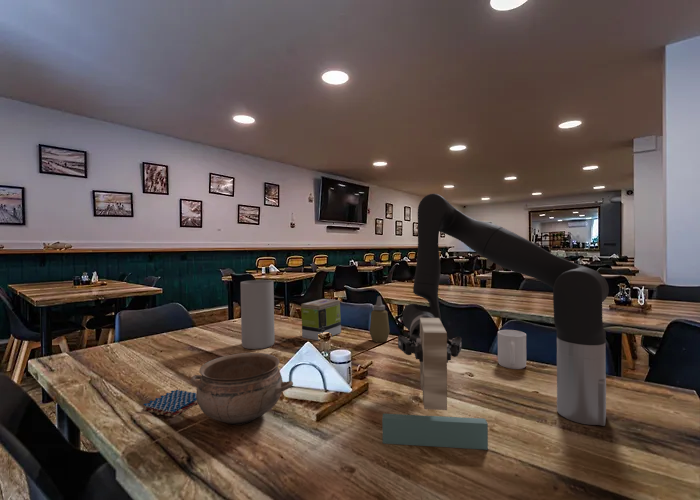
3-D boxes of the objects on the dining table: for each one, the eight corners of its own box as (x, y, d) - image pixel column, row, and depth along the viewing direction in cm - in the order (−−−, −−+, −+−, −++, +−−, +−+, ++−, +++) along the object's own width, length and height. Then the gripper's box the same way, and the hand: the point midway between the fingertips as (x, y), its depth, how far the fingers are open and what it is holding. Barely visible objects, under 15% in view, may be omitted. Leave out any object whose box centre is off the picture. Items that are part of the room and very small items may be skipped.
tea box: (324, 330, 161) (323, 298, 161) (341, 333, 155) (341, 299, 155) (301, 337, 149) (300, 302, 149) (319, 341, 143) (318, 305, 143)
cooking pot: (165, 434, 75) (163, 377, 74) (215, 396, 93) (214, 349, 93) (276, 445, 70) (275, 384, 69) (306, 402, 88) (305, 354, 88)
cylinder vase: (270, 349, 133) (269, 283, 132) (237, 350, 133) (235, 283, 132) (277, 340, 145) (276, 279, 145) (247, 340, 145) (246, 280, 145)
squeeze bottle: (366, 342, 140) (366, 297, 140) (373, 337, 148) (372, 294, 147) (386, 344, 137) (386, 298, 137) (392, 339, 145) (391, 295, 144)
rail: (485, 443, 69) (485, 418, 69) (487, 449, 67) (487, 423, 67) (383, 437, 72) (382, 413, 72) (382, 443, 70) (382, 418, 70)
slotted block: (420, 382, 76) (419, 317, 75) (439, 383, 75) (439, 318, 75) (424, 409, 64) (424, 332, 64) (447, 410, 63) (446, 333, 63)
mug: (527, 375, 104) (527, 340, 104) (497, 371, 108) (496, 337, 107) (525, 362, 115) (525, 331, 115) (498, 359, 118) (498, 328, 118)
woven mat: (174, 420, 81) (173, 411, 81) (140, 412, 85) (140, 404, 85) (207, 401, 91) (207, 393, 91) (176, 395, 95) (176, 387, 95)
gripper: (396, 316, 84) (395, 336, 67) (457, 317, 83) (472, 338, 66) (396, 347, 85) (395, 375, 68) (457, 349, 83) (472, 378, 66)
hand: (433, 357), depth 67 cm, fingers closed on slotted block, 4 cm apart
